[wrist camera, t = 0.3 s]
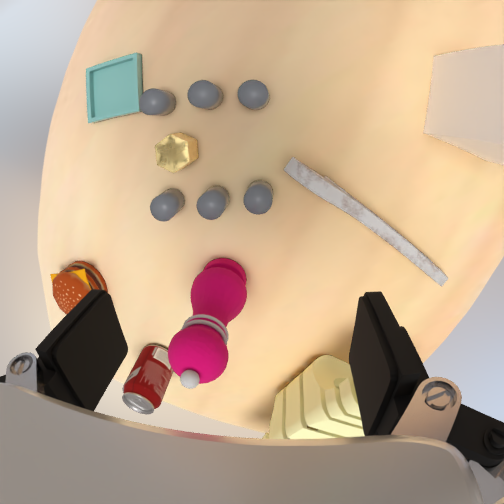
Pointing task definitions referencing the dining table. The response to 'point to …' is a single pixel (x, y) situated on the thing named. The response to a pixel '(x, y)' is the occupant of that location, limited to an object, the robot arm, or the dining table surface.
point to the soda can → (148, 380)
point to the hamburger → (75, 284)
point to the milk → (469, 101)
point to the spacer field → (216, 196)
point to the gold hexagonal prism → (176, 152)
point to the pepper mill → (208, 323)
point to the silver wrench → (361, 215)
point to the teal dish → (114, 88)
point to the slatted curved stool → (317, 404)
